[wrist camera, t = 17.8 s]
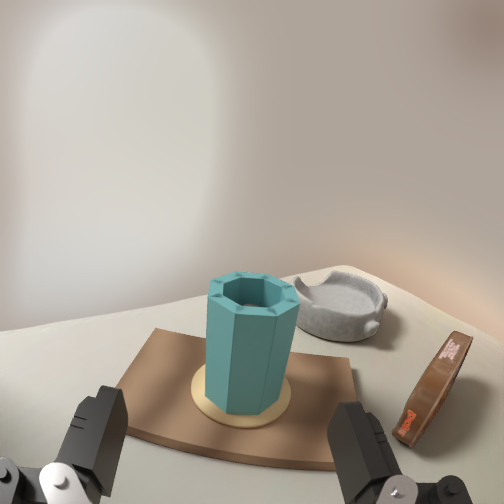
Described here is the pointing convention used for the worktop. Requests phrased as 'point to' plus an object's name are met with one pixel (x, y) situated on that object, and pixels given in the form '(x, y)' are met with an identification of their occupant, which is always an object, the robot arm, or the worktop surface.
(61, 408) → the worktop surface
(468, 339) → the tin
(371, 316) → the dish
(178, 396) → the post stand
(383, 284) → the worktop surface
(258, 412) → the collar
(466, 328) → the worktop surface
